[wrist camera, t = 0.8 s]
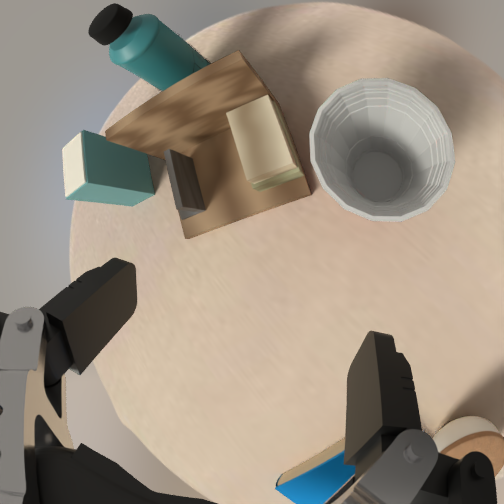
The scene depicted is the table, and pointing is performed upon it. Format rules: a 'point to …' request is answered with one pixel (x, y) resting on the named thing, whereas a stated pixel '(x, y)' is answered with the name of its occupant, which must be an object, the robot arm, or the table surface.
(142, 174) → the teal book
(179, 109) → the shelf
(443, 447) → the lidded jar
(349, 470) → the book
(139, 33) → the beverage bottle
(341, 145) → the plastic cup
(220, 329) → the table surface
